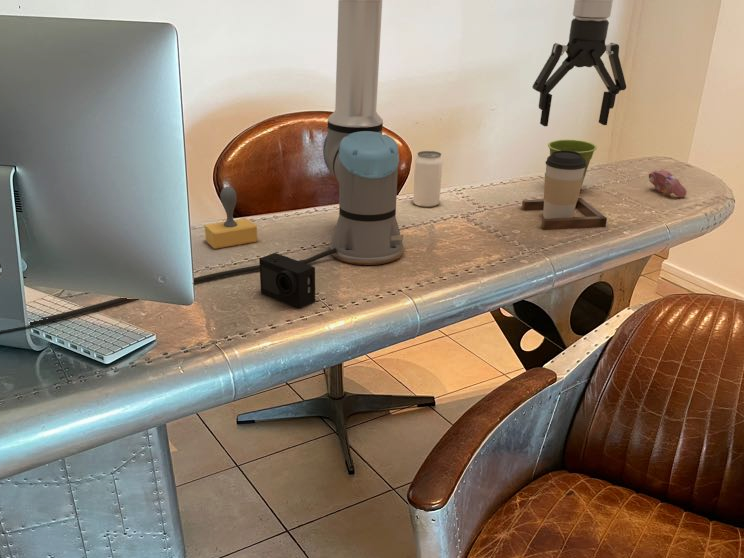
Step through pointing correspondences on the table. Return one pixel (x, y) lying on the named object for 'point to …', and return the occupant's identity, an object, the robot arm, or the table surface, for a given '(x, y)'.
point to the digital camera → (287, 280)
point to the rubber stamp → (230, 225)
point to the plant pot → (574, 149)
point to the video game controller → (667, 183)
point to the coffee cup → (562, 183)
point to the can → (427, 179)
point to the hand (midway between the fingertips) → (573, 124)
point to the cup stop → (591, 220)
